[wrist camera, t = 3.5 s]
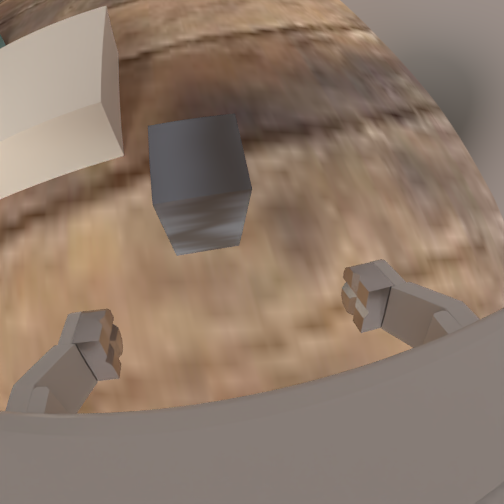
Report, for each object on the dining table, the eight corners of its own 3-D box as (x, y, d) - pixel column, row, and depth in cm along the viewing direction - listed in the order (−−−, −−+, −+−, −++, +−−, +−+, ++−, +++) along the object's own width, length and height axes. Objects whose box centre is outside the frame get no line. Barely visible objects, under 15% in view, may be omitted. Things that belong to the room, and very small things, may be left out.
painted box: (-10, 204, 24) (-54, 170, 17) (8, 97, 28) (-18, 58, 20) (124, 157, 27) (100, 101, 19) (118, 55, 31) (106, 5, 23)
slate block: (176, 255, 25) (152, 204, 15) (169, 198, 26) (148, 125, 16) (239, 245, 26) (252, 189, 16) (228, 189, 27) (234, 113, 17)
